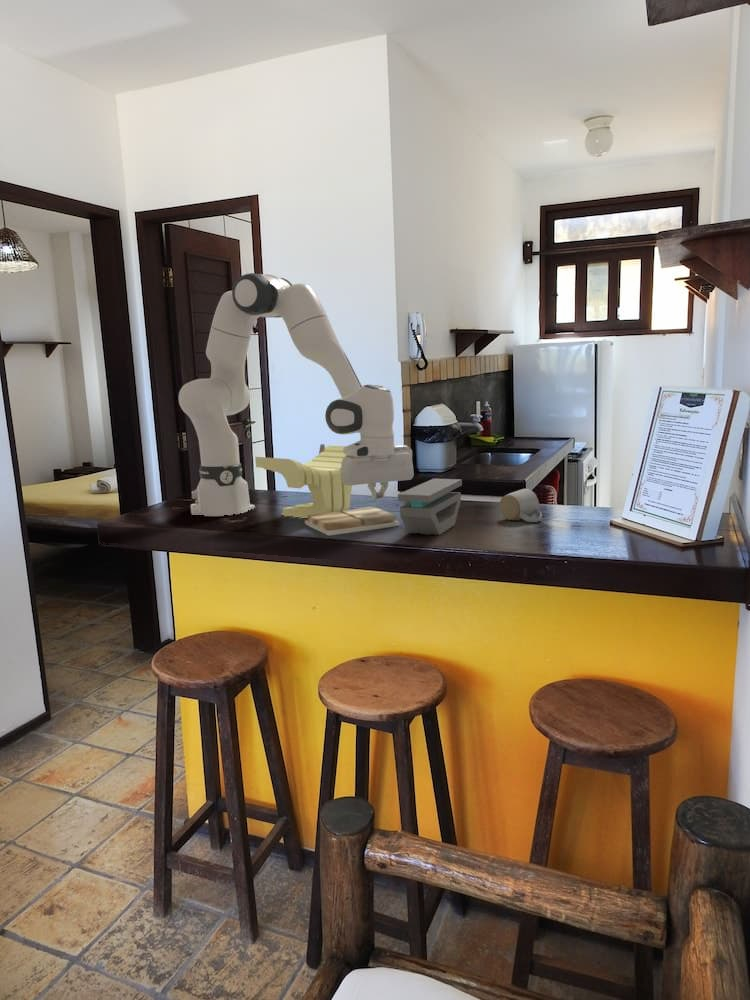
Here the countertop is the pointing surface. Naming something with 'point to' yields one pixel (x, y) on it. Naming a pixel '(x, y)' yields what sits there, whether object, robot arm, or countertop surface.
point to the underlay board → (354, 529)
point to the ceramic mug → (520, 506)
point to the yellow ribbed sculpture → (314, 481)
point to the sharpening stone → (431, 506)
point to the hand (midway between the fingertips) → (378, 499)
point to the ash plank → (370, 515)
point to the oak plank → (334, 521)
